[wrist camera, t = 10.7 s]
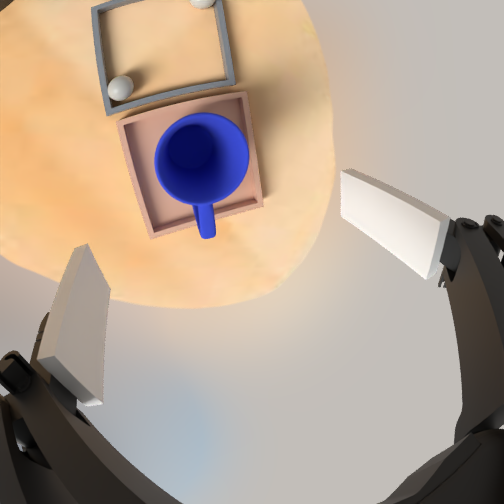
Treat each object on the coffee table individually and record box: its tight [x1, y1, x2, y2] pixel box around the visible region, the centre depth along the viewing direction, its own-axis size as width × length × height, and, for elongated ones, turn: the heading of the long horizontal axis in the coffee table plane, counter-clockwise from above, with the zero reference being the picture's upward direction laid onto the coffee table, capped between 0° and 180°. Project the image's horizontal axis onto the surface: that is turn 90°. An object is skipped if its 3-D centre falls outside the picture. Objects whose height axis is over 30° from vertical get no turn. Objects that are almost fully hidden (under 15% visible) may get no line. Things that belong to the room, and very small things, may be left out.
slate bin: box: [91, 0, 236, 116], centre depth 22 cm, size 15×15×1 cm
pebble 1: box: [108, 75, 134, 101], centre depth 23 cm, size 3×3×3 cm
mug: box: [154, 112, 249, 239], centre depth 27 cm, size 8×12×10 cm
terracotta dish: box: [116, 91, 264, 239], centre depth 30 cm, size 15×15×2 cm
